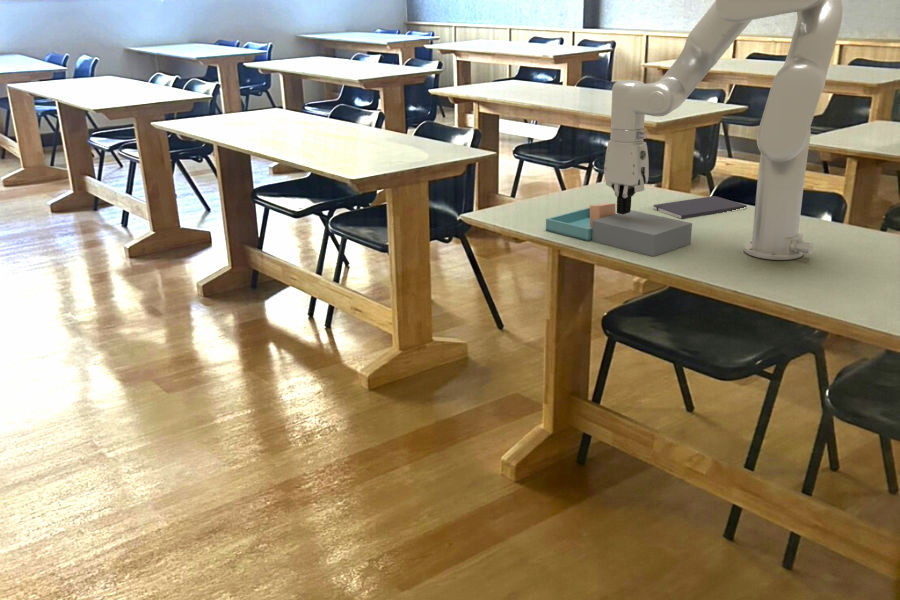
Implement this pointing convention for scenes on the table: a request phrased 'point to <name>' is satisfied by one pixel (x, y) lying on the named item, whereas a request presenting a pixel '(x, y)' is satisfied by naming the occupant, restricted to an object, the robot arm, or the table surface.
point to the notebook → (698, 207)
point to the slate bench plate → (642, 232)
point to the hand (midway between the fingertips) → (623, 212)
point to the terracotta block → (601, 211)
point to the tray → (572, 224)
